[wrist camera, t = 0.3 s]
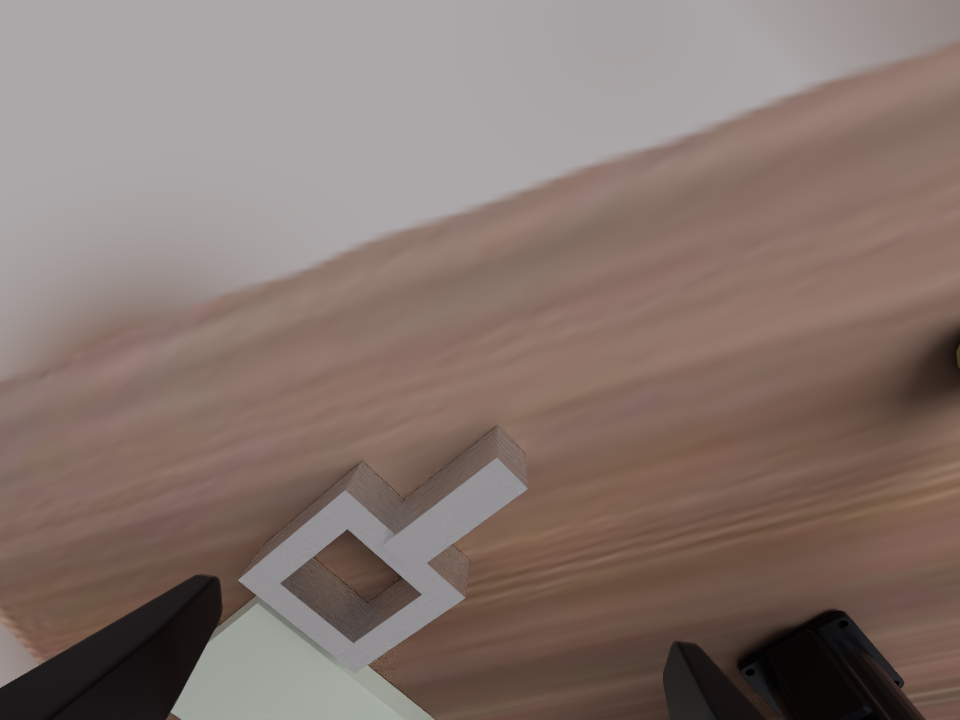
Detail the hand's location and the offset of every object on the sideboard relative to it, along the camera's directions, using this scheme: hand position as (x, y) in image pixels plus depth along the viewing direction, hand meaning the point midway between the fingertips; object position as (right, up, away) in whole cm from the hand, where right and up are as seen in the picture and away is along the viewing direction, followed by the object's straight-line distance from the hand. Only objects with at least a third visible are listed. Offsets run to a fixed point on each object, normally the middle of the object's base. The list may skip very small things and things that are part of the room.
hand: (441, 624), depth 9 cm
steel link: (-3, -3, +15) cm, 15 cm away
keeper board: (-9, -17, +20) cm, 28 cm away
